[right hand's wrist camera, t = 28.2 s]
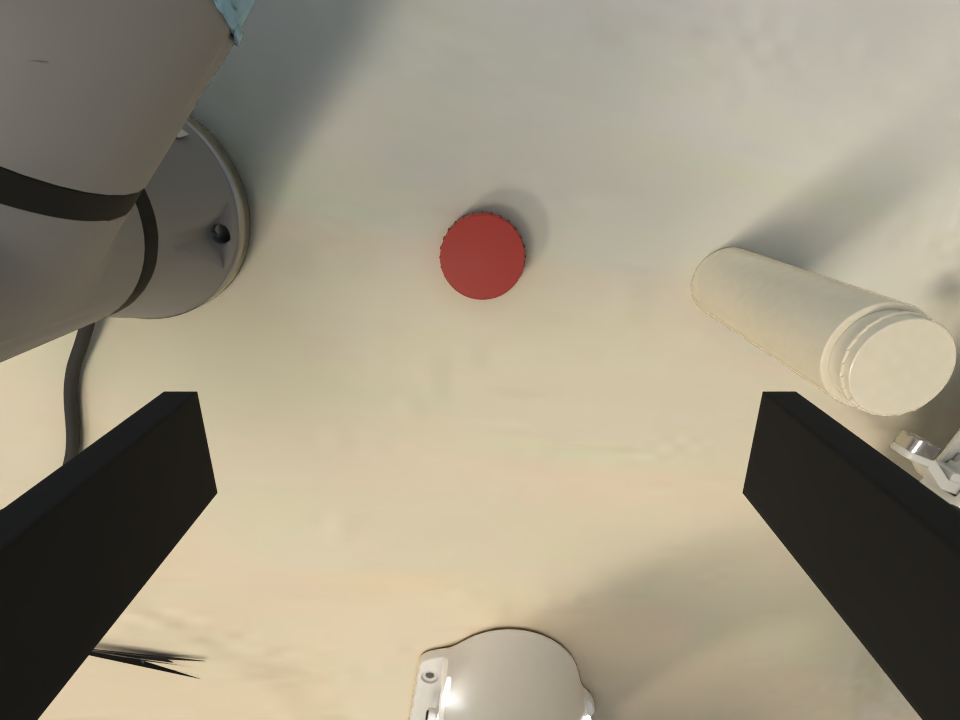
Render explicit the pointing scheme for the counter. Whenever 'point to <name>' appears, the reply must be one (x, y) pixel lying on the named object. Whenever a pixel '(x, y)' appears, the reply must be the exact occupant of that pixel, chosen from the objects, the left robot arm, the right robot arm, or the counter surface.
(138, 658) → the feather
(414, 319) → the counter surface
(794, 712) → the counter surface
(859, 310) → the jar
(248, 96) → the counter surface
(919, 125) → the counter surface
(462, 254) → the lid
